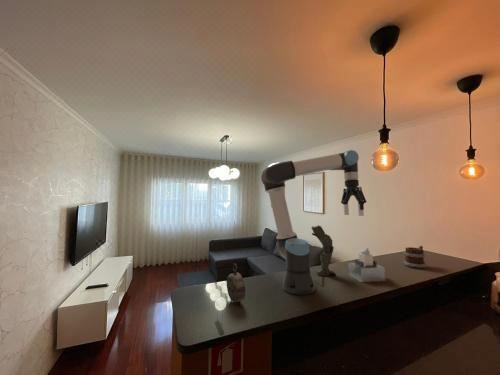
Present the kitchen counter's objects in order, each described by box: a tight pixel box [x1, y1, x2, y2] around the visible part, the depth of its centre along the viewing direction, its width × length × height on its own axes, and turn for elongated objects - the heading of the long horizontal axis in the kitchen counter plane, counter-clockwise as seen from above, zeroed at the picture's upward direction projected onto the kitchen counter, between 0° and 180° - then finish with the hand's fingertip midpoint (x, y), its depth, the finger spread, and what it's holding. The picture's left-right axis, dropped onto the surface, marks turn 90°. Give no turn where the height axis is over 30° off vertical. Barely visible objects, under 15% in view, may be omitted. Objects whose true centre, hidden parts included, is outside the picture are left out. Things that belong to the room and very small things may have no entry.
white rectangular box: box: [347, 259, 386, 283], centre depth 116 cm, size 16×11×10 cm
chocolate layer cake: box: [403, 245, 427, 270], centre depth 136 cm, size 12×14×15 cm
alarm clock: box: [226, 263, 246, 308], centre depth 88 cm, size 11×5×16 cm, turn 27°
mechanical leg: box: [311, 225, 337, 277], centre depth 123 cm, size 14×7×30 cm, turn 85°
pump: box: [357, 247, 374, 266], centre depth 116 cm, size 5×5×9 cm
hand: (353, 215), depth 122 cm, fingers open, 13 cm apart
